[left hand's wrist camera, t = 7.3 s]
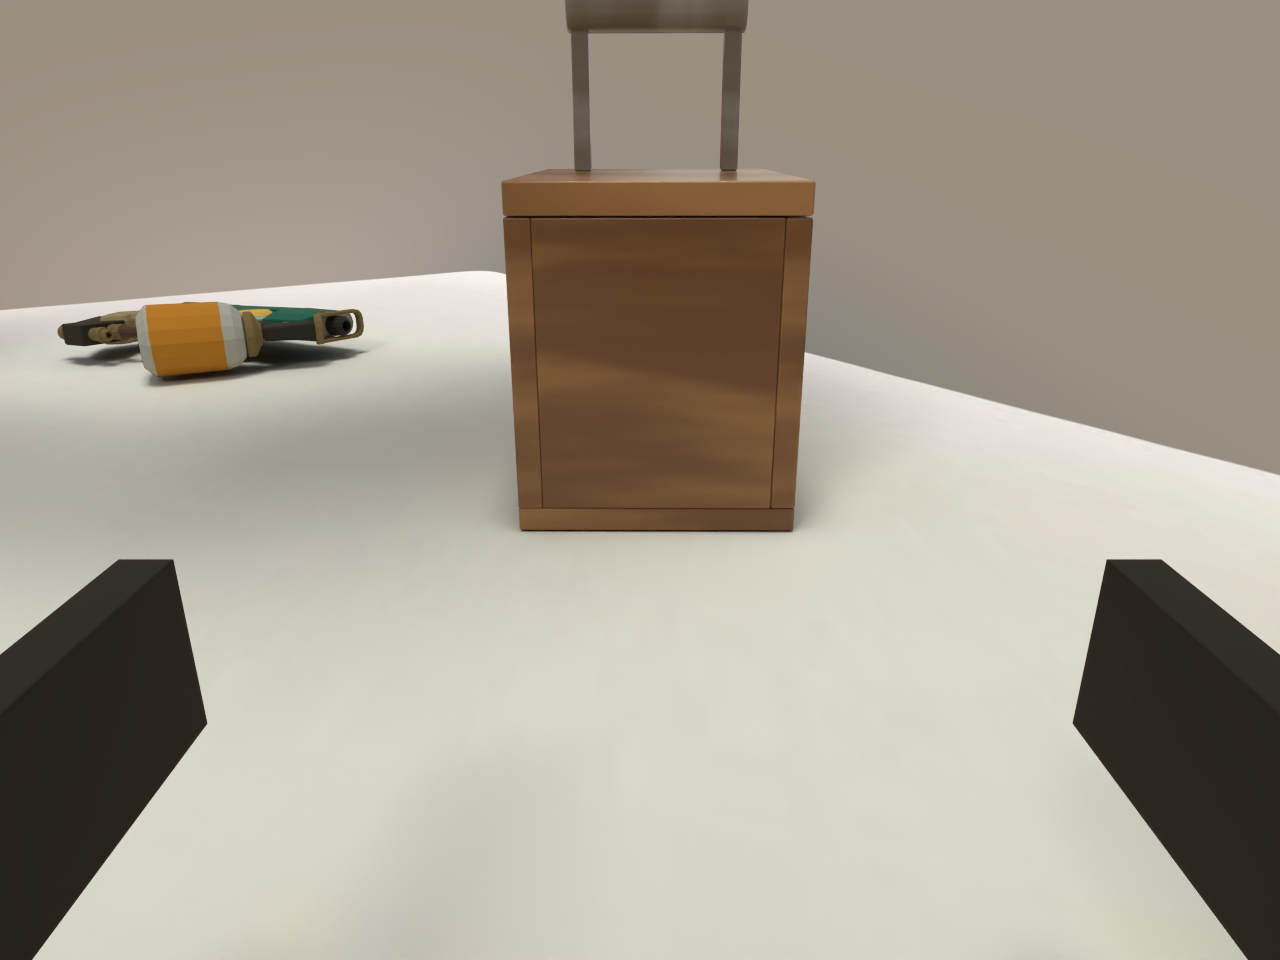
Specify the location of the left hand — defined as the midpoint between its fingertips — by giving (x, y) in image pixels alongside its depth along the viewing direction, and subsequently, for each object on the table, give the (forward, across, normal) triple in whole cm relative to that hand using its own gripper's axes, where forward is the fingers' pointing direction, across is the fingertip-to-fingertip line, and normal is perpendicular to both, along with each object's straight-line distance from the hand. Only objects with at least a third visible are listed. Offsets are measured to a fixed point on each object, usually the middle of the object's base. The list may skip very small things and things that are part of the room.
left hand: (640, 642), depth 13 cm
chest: (+25, +1, -7) cm, 26 cm away
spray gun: (+48, -28, -7) cm, 56 cm away
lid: (+26, +1, +4) cm, 26 cm away
